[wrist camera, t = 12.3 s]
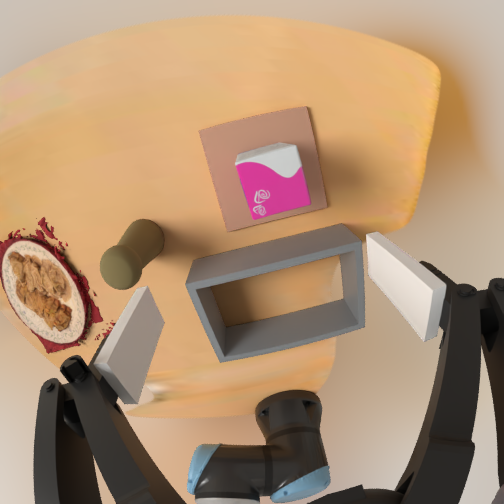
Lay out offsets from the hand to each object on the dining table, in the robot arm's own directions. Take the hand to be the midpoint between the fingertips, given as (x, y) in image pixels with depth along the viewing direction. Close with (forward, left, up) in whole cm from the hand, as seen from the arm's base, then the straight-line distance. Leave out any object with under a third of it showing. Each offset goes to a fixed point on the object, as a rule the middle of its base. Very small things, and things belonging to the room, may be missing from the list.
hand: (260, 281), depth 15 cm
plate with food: (-5, +42, -23) cm, 48 cm away
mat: (+3, -3, -22) cm, 23 cm away
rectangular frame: (-14, -1, -22) cm, 26 cm away
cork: (-2, +16, -22) cm, 27 cm away
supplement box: (+3, -3, -22) cm, 22 cm away
